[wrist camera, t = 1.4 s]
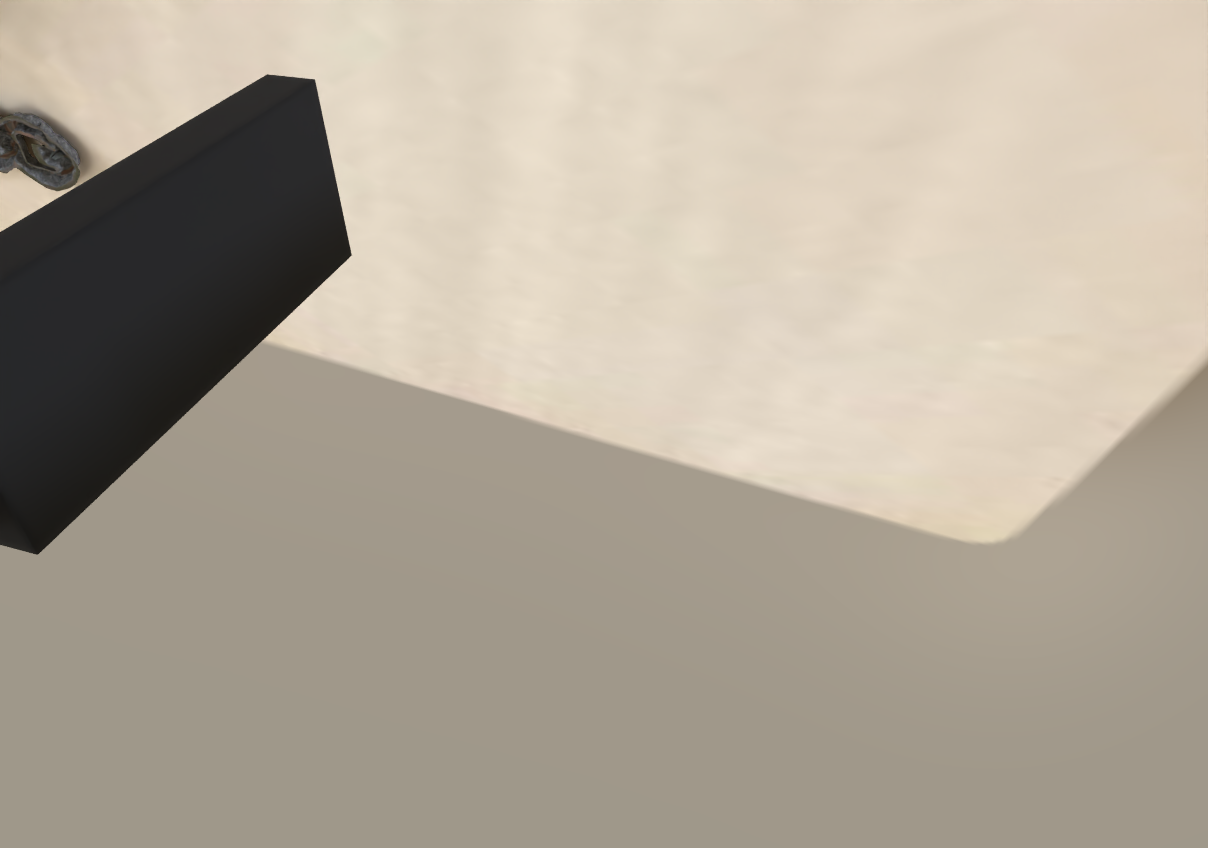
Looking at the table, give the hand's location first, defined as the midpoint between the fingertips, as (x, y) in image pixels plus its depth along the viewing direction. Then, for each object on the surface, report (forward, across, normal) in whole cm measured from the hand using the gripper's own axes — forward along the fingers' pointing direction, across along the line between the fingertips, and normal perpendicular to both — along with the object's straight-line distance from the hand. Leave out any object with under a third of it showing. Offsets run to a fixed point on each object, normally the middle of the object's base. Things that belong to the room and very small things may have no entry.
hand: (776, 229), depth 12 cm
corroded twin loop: (+27, -45, -14) cm, 54 cm away
